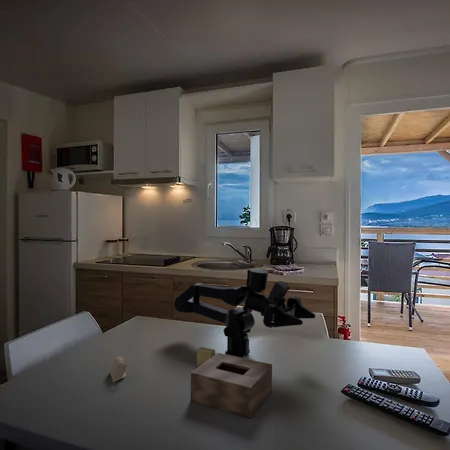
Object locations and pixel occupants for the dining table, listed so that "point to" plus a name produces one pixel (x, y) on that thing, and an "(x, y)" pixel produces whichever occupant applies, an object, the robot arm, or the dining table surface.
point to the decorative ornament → (118, 369)
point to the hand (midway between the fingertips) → (309, 319)
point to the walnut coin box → (232, 384)
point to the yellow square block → (204, 355)
